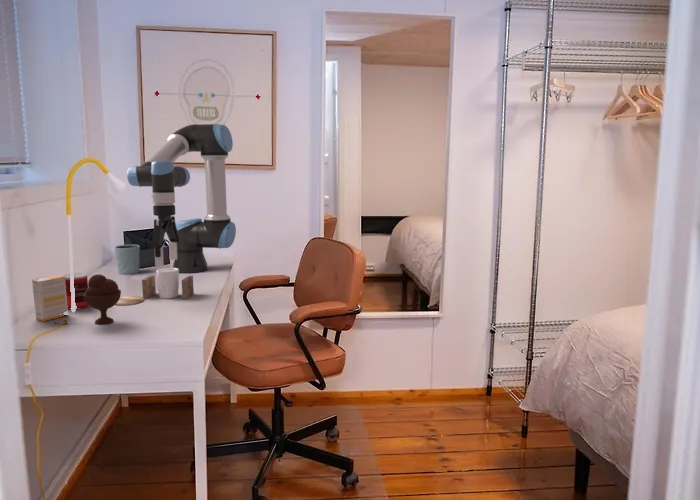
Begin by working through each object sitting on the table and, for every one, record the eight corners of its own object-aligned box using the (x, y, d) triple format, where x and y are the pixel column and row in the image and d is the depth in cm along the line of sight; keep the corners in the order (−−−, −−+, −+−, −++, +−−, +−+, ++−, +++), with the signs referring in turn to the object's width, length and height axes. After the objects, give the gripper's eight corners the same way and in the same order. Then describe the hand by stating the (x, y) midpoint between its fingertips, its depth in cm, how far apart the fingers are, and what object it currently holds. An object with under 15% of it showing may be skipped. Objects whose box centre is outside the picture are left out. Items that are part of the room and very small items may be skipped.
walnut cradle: (151, 293, 207) (150, 275, 206) (193, 293, 207) (192, 275, 205) (143, 298, 199) (141, 279, 198) (186, 299, 199) (185, 280, 198)
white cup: (173, 299, 198) (171, 272, 197) (153, 298, 200) (151, 271, 198) (183, 294, 206) (182, 268, 204) (164, 293, 208) (163, 267, 206)
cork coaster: (119, 297, 201) (119, 295, 201) (148, 297, 201) (148, 296, 201) (104, 305, 190) (104, 303, 190) (135, 305, 190) (135, 303, 190)
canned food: (71, 303, 192) (68, 272, 190) (93, 304, 192) (91, 273, 190) (59, 309, 185) (56, 277, 183) (82, 309, 184) (80, 277, 183)
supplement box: (61, 313, 180) (57, 274, 178) (68, 315, 178) (65, 276, 175) (34, 319, 174) (31, 278, 171) (42, 321, 171) (39, 280, 169)
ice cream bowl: (84, 329, 164) (80, 280, 161) (86, 319, 174) (82, 272, 171) (123, 325, 168) (120, 277, 165) (122, 315, 178) (119, 270, 176)
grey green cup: (144, 270, 249) (142, 244, 247) (136, 275, 239) (134, 248, 237) (121, 270, 249) (119, 244, 247) (112, 275, 239) (111, 248, 237)
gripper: (166, 202, 210) (169, 256, 213) (139, 206, 185) (142, 268, 188) (186, 202, 210) (188, 257, 213) (161, 207, 185) (163, 269, 188)
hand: (166, 262), depth 201 cm, fingers open, 13 cm apart
